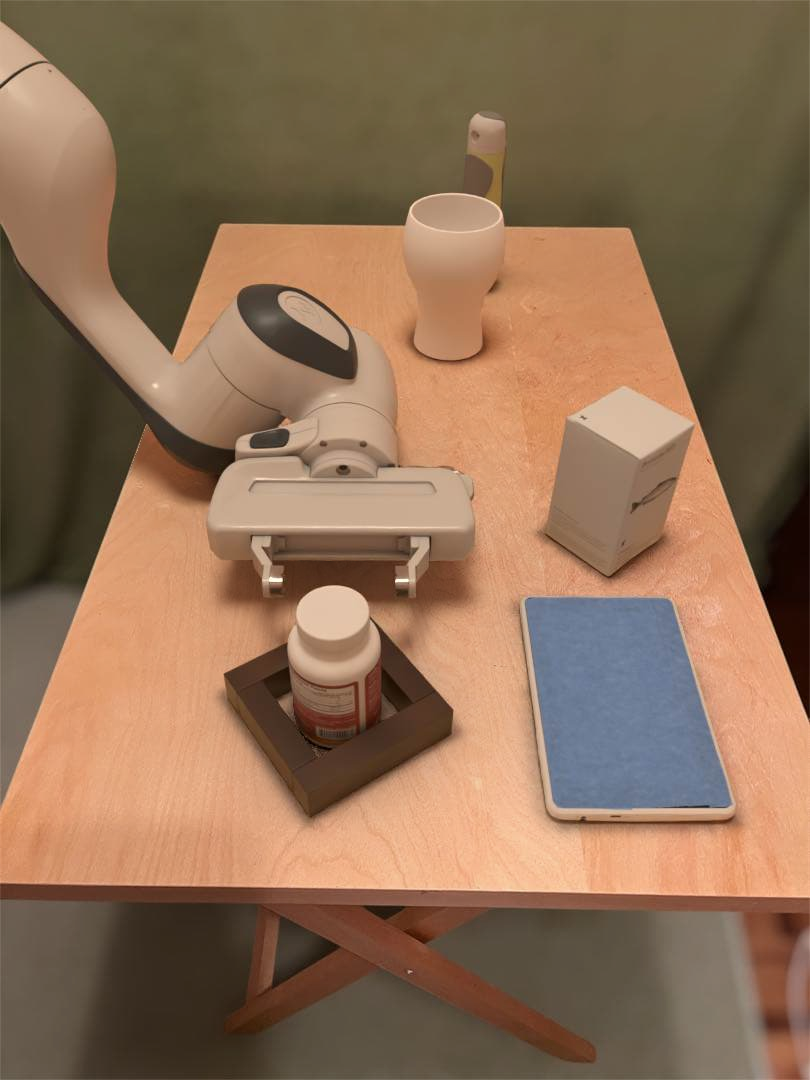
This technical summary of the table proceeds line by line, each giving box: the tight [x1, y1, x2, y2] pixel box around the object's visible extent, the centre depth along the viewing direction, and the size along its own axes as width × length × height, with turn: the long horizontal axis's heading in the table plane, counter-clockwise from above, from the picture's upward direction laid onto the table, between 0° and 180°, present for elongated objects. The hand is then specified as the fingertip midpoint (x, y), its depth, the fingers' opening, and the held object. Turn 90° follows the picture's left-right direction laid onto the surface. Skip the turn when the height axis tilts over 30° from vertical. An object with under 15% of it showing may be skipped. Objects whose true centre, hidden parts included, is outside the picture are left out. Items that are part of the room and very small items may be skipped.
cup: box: [402, 192, 507, 361], centre depth 97 cm, size 11×11×15 cm
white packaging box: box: [544, 384, 696, 577], centre depth 75 cm, size 7×7×13 cm
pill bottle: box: [287, 585, 382, 749], centre depth 61 cm, size 6×6×11 cm
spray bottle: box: [462, 110, 508, 289], centre depth 105 cm, size 5×5×20 cm
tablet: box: [518, 595, 737, 822], centre depth 66 cm, size 19×13×1 cm, turn 1°
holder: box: [223, 615, 454, 818], centre depth 64 cm, size 12×12×3 cm
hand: (339, 592), depth 65 cm, fingers open, 8 cm apart
